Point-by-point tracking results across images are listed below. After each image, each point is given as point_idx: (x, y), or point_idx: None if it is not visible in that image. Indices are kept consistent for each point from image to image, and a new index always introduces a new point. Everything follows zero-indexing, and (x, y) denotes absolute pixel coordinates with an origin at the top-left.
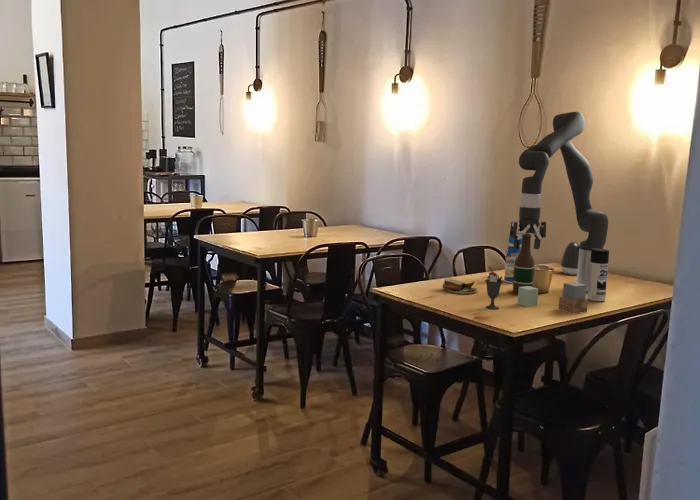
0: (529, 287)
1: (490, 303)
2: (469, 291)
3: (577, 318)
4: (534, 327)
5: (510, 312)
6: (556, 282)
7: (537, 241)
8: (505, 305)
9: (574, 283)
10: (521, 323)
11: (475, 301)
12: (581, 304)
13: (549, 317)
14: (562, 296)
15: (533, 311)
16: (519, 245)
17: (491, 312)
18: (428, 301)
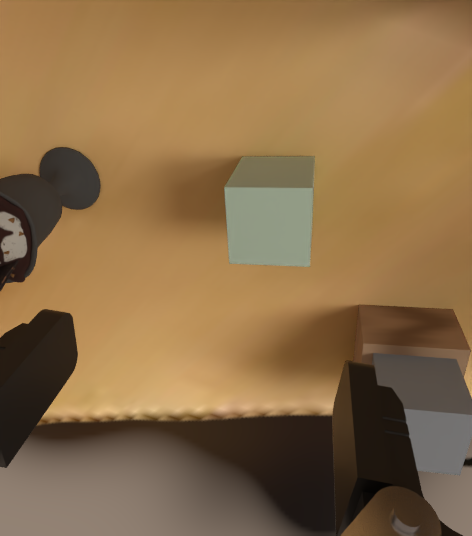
0: (280, 223)
1: (52, 179)
2: None
3: (309, 412)
4: (95, 413)
5: (113, 266)
6: None
7: (338, 498)
8: (158, 163)
9: (436, 433)
10: (78, 375)
11: (40, 27)
12: None
13: (218, 368)
14: (373, 352)
15: (218, 290)
16: (46, 403)
17: None
18: None
